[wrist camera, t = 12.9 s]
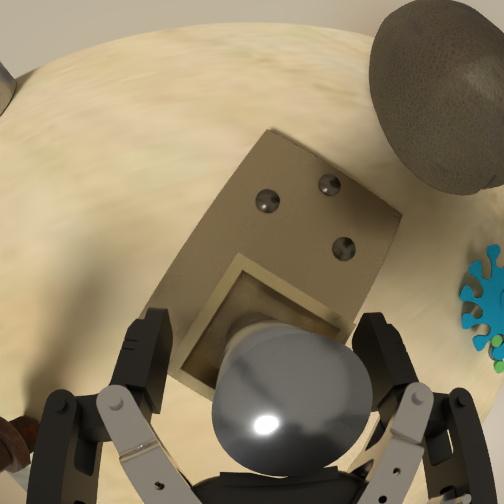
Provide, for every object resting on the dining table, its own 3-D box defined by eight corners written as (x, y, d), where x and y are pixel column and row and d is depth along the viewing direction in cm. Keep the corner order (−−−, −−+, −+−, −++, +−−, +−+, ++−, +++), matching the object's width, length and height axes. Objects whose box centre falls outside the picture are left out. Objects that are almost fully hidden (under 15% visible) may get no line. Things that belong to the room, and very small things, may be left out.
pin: (215, 350, 17) (182, 436, 5) (245, 302, 18) (269, 301, 6) (264, 379, 17) (315, 491, 5) (294, 331, 17) (398, 374, 6)
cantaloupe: (467, 137, 22) (549, 65, 8) (451, 247, 20) (594, 193, 5) (361, 65, 23) (414, -45, 8) (313, 158, 20) (397, -11, 6)
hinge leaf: (128, 341, 17) (92, 352, 12) (266, 134, 21) (273, 90, 15) (278, 430, 17) (291, 469, 12) (397, 217, 20) (436, 194, 15)
